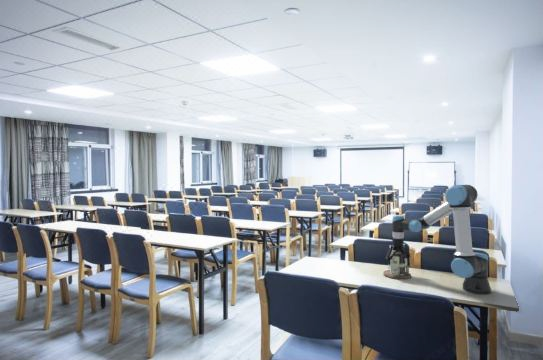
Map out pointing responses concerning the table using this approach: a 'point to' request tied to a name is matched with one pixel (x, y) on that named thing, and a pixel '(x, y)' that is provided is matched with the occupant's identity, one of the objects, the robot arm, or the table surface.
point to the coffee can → (398, 263)
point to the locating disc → (398, 274)
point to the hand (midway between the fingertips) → (397, 268)
